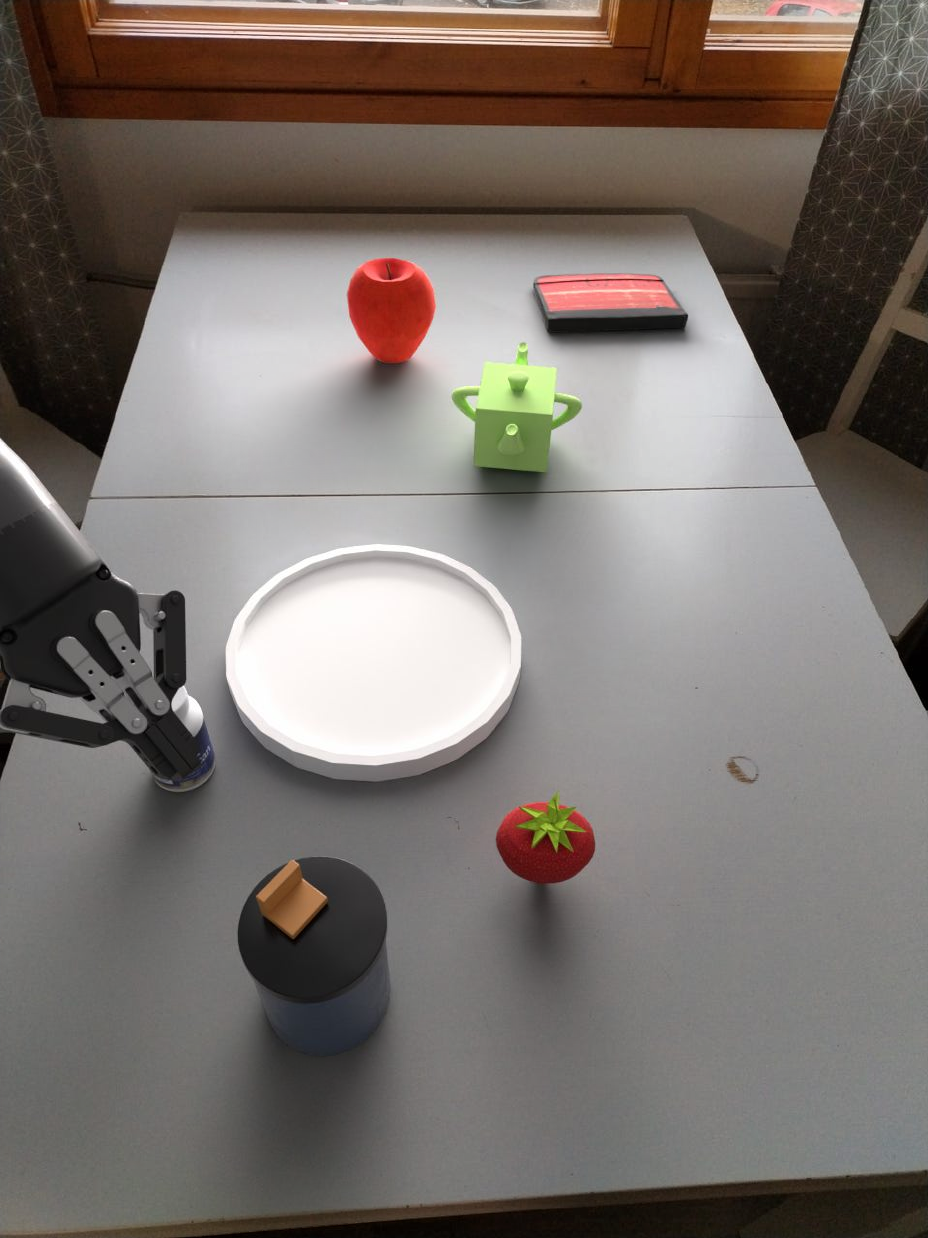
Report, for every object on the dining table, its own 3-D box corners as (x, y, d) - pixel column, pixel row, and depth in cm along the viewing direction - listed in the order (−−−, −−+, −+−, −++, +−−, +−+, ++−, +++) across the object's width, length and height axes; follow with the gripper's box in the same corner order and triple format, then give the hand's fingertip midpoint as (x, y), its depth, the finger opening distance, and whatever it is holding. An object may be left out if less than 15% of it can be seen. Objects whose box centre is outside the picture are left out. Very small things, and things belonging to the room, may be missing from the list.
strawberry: (492, 840, 73) (499, 771, 66) (584, 844, 73) (601, 775, 66) (491, 908, 69) (498, 842, 62) (589, 912, 69) (606, 847, 62)
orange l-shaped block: (261, 914, 57) (255, 896, 55) (296, 877, 58) (292, 859, 57) (293, 940, 56) (288, 923, 54) (328, 901, 57) (325, 884, 56)
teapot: (518, 406, 117) (524, 331, 110) (594, 452, 111) (606, 376, 103) (430, 450, 110) (430, 374, 102) (506, 503, 103) (512, 425, 96)
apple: (431, 332, 130) (430, 241, 120) (440, 375, 122) (440, 281, 112) (349, 336, 129) (342, 244, 119) (353, 380, 121) (346, 285, 111)
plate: (168, 667, 85) (162, 650, 83) (375, 526, 100) (374, 509, 98) (377, 842, 73) (375, 826, 71) (578, 651, 88) (581, 634, 86)
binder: (689, 313, 131) (548, 318, 129) (686, 328, 132) (546, 333, 131) (660, 269, 142) (530, 272, 140) (658, 283, 144) (529, 287, 142)
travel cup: (234, 1002, 64) (205, 936, 56) (324, 904, 69) (309, 830, 61) (331, 1089, 60) (315, 1030, 52) (419, 977, 65) (416, 909, 57)
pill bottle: (187, 804, 75) (161, 735, 68) (139, 776, 77) (109, 706, 69) (229, 758, 78) (209, 688, 71) (183, 733, 80) (158, 661, 73)
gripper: (-115, 588, 43) (116, 854, 47) (109, 459, 50) (292, 698, 54) (-125, 615, 49) (81, 849, 53) (77, 496, 56) (244, 709, 60)
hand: (188, 772), depth 54 cm, fingers closed
